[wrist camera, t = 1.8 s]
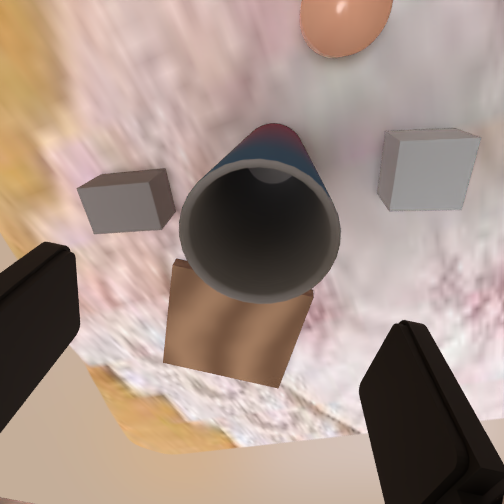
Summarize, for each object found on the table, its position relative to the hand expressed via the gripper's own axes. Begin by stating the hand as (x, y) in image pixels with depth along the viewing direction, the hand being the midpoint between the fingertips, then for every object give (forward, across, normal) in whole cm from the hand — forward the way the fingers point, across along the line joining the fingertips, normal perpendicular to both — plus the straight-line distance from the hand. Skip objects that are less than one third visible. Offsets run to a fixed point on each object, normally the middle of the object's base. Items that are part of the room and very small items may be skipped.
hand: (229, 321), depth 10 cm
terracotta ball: (+20, -3, -10) cm, 23 cm away
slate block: (+20, -12, -2) cm, 23 cm away
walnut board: (+20, -1, +18) cm, 27 cm away
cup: (+20, -1, 0) cm, 20 cm away
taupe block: (+20, +10, +6) cm, 23 cm away
